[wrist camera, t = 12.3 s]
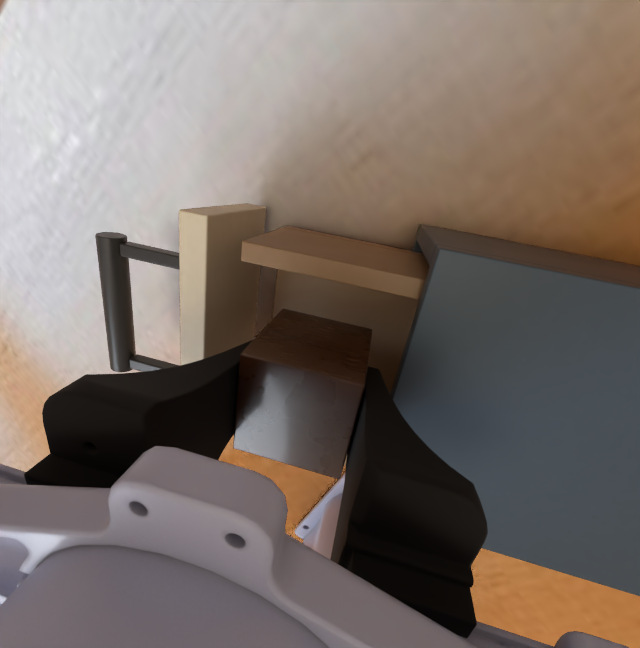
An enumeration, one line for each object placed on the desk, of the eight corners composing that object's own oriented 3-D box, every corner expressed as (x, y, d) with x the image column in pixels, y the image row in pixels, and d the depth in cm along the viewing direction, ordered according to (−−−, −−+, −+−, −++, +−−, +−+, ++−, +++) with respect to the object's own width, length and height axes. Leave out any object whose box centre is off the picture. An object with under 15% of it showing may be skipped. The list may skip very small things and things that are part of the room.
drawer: (170, 353, 23) (97, 407, 17) (166, 187, 18) (65, 185, 13) (402, 414, 21) (405, 498, 15) (459, 245, 17) (494, 274, 11)
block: (353, 404, 15) (339, 480, 11) (272, 383, 16) (232, 448, 12) (373, 328, 14) (365, 386, 10) (282, 307, 14) (239, 353, 10)
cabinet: (368, 405, 22) (356, 510, 15) (419, 223, 17) (439, 248, 10) (563, 456, 21) (656, 602, 13) (679, 273, 16) (927, 345, 9)
